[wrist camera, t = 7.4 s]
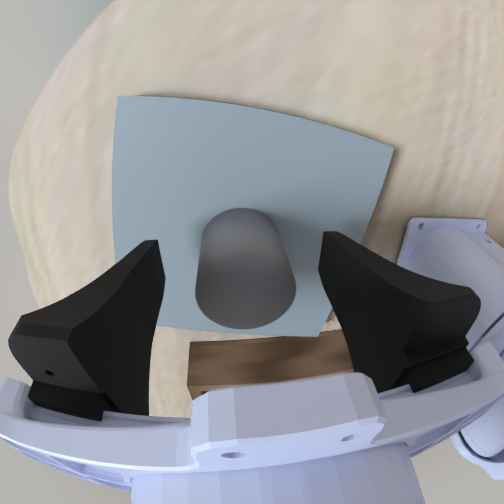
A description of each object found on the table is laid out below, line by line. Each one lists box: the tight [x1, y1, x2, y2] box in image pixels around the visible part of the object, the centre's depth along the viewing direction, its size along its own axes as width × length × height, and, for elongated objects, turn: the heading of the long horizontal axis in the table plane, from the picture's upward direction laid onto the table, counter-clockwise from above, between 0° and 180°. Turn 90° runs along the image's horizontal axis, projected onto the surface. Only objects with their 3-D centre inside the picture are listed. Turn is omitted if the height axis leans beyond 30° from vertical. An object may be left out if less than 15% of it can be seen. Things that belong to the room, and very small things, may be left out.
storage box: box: [187, 330, 354, 400], centre depth 22 cm, size 12×12×4 cm
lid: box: [112, 96, 394, 337], centre depth 13 cm, size 14×14×6 cm
